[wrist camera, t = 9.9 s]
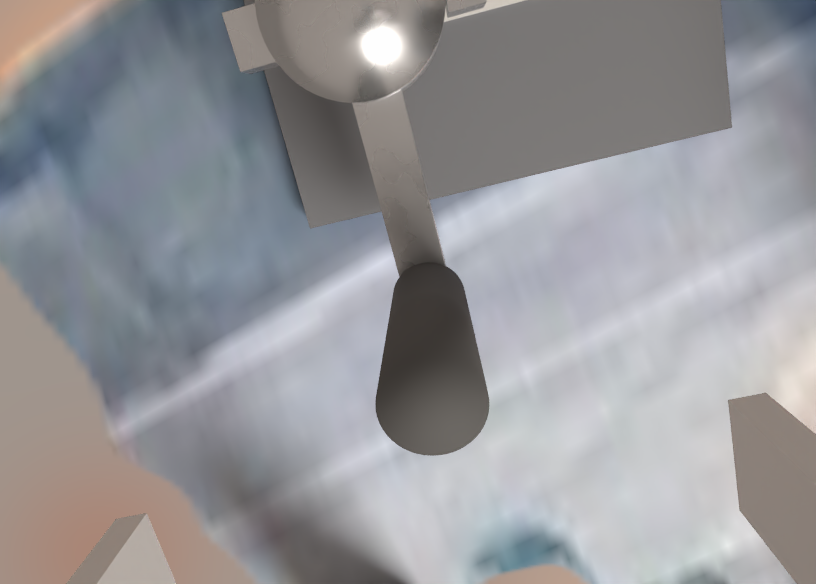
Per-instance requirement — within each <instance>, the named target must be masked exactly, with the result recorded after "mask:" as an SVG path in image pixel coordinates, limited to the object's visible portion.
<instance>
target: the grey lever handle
mask: <svg viewBox="0 0 816 584" xmlns="http://www.w3.org/2000/svg"><path fill="white" fill-rule="evenodd" d="M486 2H487V0H255V3H254V4H251V5H247V6H244V7H240V8H237V9H234V10H230V11H227V12H224V13H222V15H223V19H224V22H225V25H226V28H227V31H228V34H229V37H230V41H231V44H232V47H233V50H234V53H235V56H236V59H237V63H238V66H239V69H240V72H243V73H248V74H253V73H257V72H260V71H264V70H267V69H271V68H274V67H278V66H280V68H281V69H282V70H283V71H284V72H285V73H286V74H287V75H288V76H289V77H290V78H291V79H292V80H293V81H294V82H296V83H297V84H299V85H300V86H301V87H303V88H304V89H306V90H308V91H310V92H312V93H313V94H315V95H318V96H320V97H323V98H326V99H329V100H334V101H338V102H346V103H352V104H353V108H354V112H355V115H356V119H357V123H358V126H359V130H360V134H361V137H362V141H363V145H364V148H365V152H366V156H367V159H368V163H369V167H370V170H371V174H372V178H373V181H374V185H375V189H376V192H377V196H378V200H379V203H380V207H381V210H382V214H383V218H384V221H385V225H386V229H387V232H388V236H389V240H390V243H391V247H392V251H393V254H394V258H395V262H396V265H397V269H398V273H399V276H400V277H399V279H398V281H397V283H396V285H395V288H394V293H393V299H392V305H391V311H390V317H389V323H388V329H387V335H386V341H385V347H384V353H383V359H382V365H381V371H380V377H379V383H378V389H377V395H376V413H377V417H378V420H379V423H380V425H381V427H382V428H383V430H384V432H385V433H386V434H387V436H388V437H389V438H390V439H391V440H392V441H394V442H395V443H396V444H397V445H399V446H401V447H402V448H404V449H406V450H408V451H411V452H414V453H417V454H422V455H443V454H448V453H451V452H454V451H457V450H459V449H461V448H463V447H464V446H466V445H467V444H469V443H470V442H471V441H472V440H473V439H475V438H476V436H477V435H478V434H479V433H480V432H481V430H482V428H483V427H484V425H485V422H486V420H487V416H488V412H489V397H488V391H487V387H486V383H485V378H484V374H483V369H482V365H481V361H480V356H479V352H478V347H477V343H476V339H475V334H474V330H473V326H472V321H471V317H470V312H469V308H468V304H467V299H466V295H465V291H464V287H463V284H462V282H461V280H460V278H459V277H458V276H457V274H456V273H455V272H454V271H452V270H451V269H450V268H448V267H446V264H445V259H444V255H443V251H442V247H441V243H440V239H439V235H438V231H437V227H436V223H435V219H434V215H433V211H432V207H431V203H430V199H429V195H428V191H427V187H426V183H425V179H424V175H423V171H422V167H421V163H420V159H419V155H418V151H417V147H416V143H415V139H414V135H413V131H412V127H411V123H410V119H409V115H408V111H407V107H406V103H405V99H404V95H403V91H405V90H406V89H408V88H409V87H410V86H411V85H412V84H414V83H415V82H416V81H417V80H418V79H419V78H420V76H421V75H422V74H423V73H424V72H425V70H426V69H427V67H428V66H429V64H430V63H431V61H432V59H433V57H434V54H435V52H436V50H437V47H438V44H439V41H440V36H441V32H442V27H443V22H444V18H445V8H446V13H447V17H448V18H450V17H453V16H457V15H460V14H464V13H467V12H471V11H474V10H478V9H481V8H483V7H484V6H485V4H486Z"/></svg>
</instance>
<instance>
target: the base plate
mask: <svg viewBox="0 0 816 584" xmlns="http://www.w3.org/2000/svg"><path fill="white" fill-rule="evenodd" d="M244 3H245V6H247V5H251V4H254V3H255V0H244ZM264 72H265V75H266V79H267V82H268V86H269V89H270V93H271V96H272V99H273V103H274V106H275V110H276V113H277V117H278V120H279V123H280V127H281V130H282V134H283V137H284V141H285V144H286V147H287V151H288V154H289V158H290V161H291V165H292V168H293V171H294V175H295V178H296V182H297V185H298V189H299V192H300V195H301V199H302V202H303V206H304V209H305V213H306V216H307V219H308V223H309V226H310V228H314V227H318V226H322V225H327V224H331V223H335V222H339V221H343V220H347V219H352V218H356V217H360V216H364V215H368V214H373V213H377V212H381V211H382V210H381V207H380V203H379V200H378V196H377V192H376V189H375V185H374V181H373V178H372V174H371V170H370V167H369V163H368V159H367V156H366V152H365V148H364V145H363V141H362V137H361V134H360V130H359V126H358V123H357V119H356V115H355V112H354V108H353V104H352V103H346V102H338V101H334V100H329V99H326V98H323V97H320V96H318V95H315V94H313V93H312V92H310V91H308V90H306V89H304V88H303V87H301V86H300V85H299V84H297V83H296V82H294V81H293V80H292V79H291V78H290V77H289V76H288V75H287V74H286V73H285V72H284V71H283V70H282V69H281V68H280V66H278V67H274V68H271V69H267V70H264ZM403 95H404V99H405V103H406V107H407V111H408V115H409V119H410V123H411V127H412V131H413V135H414V139H415V143H416V147H417V151H418V155H419V159H420V163H421V167H422V171H423V175H424V179H425V183H426V187H427V191H428V195H429V199H430V200H431V199H435V198H439V197H444V196H448V195H452V194H456V193H460V192H464V191H469V190H473V189H477V188H481V187H485V186H490V185H494V184H498V183H502V182H506V181H510V180H515V179H519V178H523V177H527V176H531V175H535V174H540V173H544V172H548V171H552V170H556V169H561V168H565V167H569V166H573V165H577V164H581V163H586V162H590V161H594V160H598V159H602V158H607V157H611V156H615V155H619V154H623V153H627V152H632V151H636V150H640V149H644V148H648V147H653V146H657V145H661V144H665V143H669V142H673V141H678V140H682V139H686V138H690V137H694V136H698V135H703V134H707V133H711V132H715V131H719V130H724V129H728V128H732V122H731V111H730V100H729V89H728V77H727V66H726V55H725V44H724V32H723V21H722V10H721V0H487V2H486V4H485V6H484V7H483V8H481V9H478V10H474V11H471V12H467V13H464V14H460V15H457V16H453V17H450V18H448V17H447V13H446V8H445V18H444V22H443V27H442V32H441V36H440V41H439V44H438V47H437V50H436V52H435V54H434V57H433V59H432V61H431V63H430V64H429V66H428V67H427V69H426V70H425V72H424V73H423V74H422V75H421V76H420V78H419V79H418V80H417V81H416V82H415V83H414V84H412V85H411V86H410V87H409V88H408V89H406V90H405V91H403Z"/></svg>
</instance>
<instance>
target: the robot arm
mask: <svg viewBox="0 0 816 584" xmlns="http://www.w3.org/2000/svg"><path fill="white" fill-rule="evenodd" d="M728 404H729V413H730V423H731V432H732V442H733V451H734V461H735V470H736V480H737V489H738V499H739V509H740V511H741V513H742V514H743V515H744V516H745V518H746V519H747V520H748V522H749V523H750V524H751V525H752V527H753V528H754V529H755V531H756V532H757V533H758V534H759V536H760V537H761V538H762V539H763V541H764V542H765V543H766V545H767V546H768V547H769V548H770V550H771V551H772V552H773V554H774V555H775V556H776V557H777V559H778V560H779V561H780V563H781V564H782V565H783V566H784V568H785V569H786V570H787V572H788V573H789V574H790V575H791V577H792V578H793V579H794V581H795V582H796V583H797V584H816V434H815V433H813V432H812V431H811V430H810V429H809V428H807V427H806V426H805V425H804V424H803V423H801V422H800V421H799V420H798V419H797V418H795V417H794V416H793V415H792V414H791V413H789V412H788V411H787V410H786V409H785V408H783V407H782V406H781V405H780V404H779V403H777V402H776V401H775V400H774V399H773V398H771V397H770V396H769V395H768V394H767V393H762V394H757V395H752V396H747V397H742V398H737V399H732V400H728ZM66 584H176V582H175V579H174V577H173V574H172V572H171V570H170V567H169V565H168V563H167V560H166V558H165V556H164V553H163V551H162V549H161V546H160V544H159V541H158V539H157V537H156V534H155V532H154V530H153V527H152V525H151V522H150V520H149V518H148V515H147V513H145V514H140V515H135V516H129V517H125V518H119V519H116V520H115V521H114V522H113V524H112V525H111V526H110V528H109V529H108V530H107V532H106V533H105V534H104V535H103V537H102V538H101V539H100V541H99V542H98V543H97V544H96V546H95V547H94V548H93V550H92V551H91V552H90V554H89V555H88V556H87V557H86V559H85V560H84V561H83V563H82V564H81V565H80V566H79V568H78V569H77V570H76V572H75V573H74V575H73V576H72V577H71V578H70V579H69V581H68V582H67V583H66Z"/></svg>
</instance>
